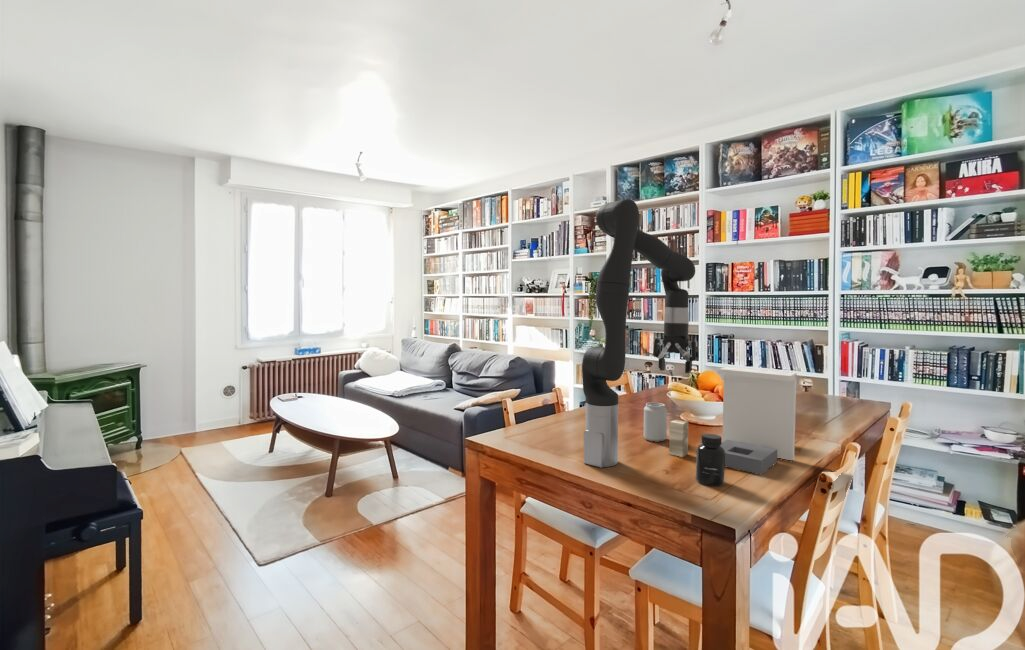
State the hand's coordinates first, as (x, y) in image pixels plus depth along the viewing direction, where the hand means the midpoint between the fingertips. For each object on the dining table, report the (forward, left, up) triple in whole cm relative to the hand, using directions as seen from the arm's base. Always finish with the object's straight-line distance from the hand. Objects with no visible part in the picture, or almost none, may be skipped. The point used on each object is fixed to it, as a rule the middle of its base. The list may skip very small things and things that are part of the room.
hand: (674, 371), depth 161 cm
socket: (-5, -23, -23) cm, 33 cm away
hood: (+4, -23, -23) cm, 33 cm away
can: (0, +7, -24) cm, 25 cm away
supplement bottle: (-26, -22, -24) cm, 42 cm away
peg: (-10, -6, -23) cm, 26 cm away
